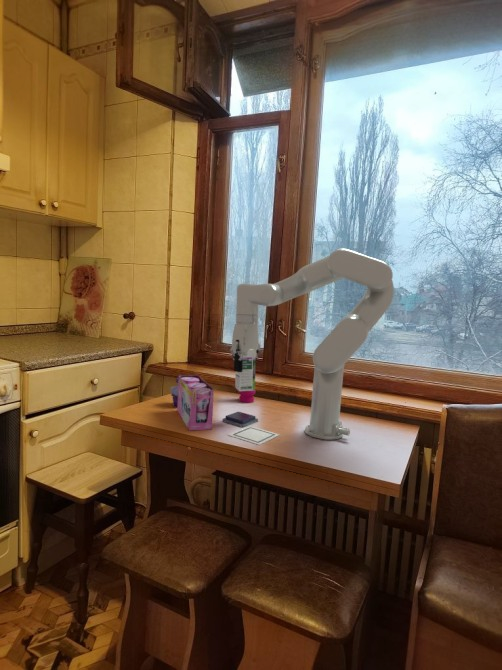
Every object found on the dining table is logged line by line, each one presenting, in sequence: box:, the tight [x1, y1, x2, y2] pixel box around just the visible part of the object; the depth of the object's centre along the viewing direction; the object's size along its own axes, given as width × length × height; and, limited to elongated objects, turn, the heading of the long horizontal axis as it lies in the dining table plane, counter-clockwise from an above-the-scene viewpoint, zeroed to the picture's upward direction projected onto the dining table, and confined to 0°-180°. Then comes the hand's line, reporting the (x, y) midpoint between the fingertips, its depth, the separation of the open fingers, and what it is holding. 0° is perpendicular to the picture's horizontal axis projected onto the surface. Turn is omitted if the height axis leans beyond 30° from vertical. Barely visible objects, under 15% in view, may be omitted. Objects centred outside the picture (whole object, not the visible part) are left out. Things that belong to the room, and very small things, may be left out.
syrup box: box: [234, 349, 256, 392], centre depth 142 cm, size 6×6×14 cm
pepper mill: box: [238, 389, 256, 404], centre depth 171 cm, size 7×7×20 cm
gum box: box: [176, 374, 214, 431], centre depth 142 cm, size 24×8×14 cm, turn 21°
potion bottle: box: [170, 374, 186, 408], centre depth 159 cm, size 9×9×12 cm
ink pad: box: [222, 411, 259, 428], centre depth 144 cm, size 9×9×2 cm
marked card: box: [228, 425, 280, 446], centre depth 131 cm, size 12×12×1 cm
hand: (245, 369), depth 142 cm, fingers closed on syrup box, 7 cm apart
